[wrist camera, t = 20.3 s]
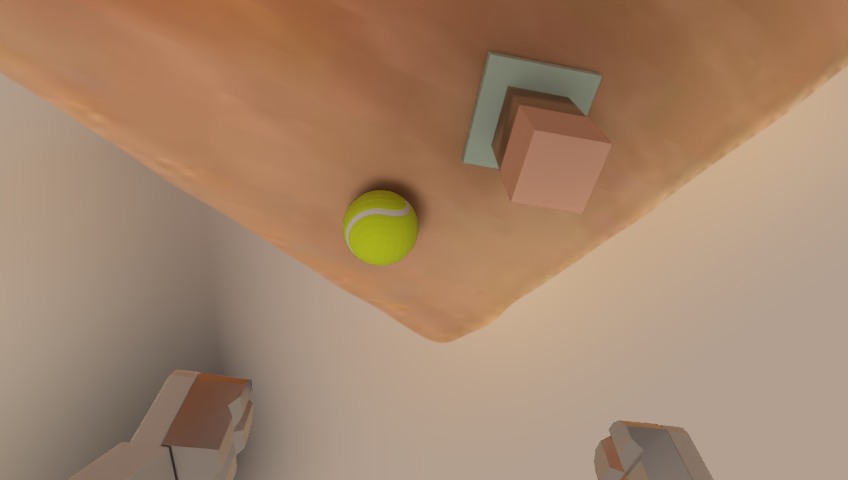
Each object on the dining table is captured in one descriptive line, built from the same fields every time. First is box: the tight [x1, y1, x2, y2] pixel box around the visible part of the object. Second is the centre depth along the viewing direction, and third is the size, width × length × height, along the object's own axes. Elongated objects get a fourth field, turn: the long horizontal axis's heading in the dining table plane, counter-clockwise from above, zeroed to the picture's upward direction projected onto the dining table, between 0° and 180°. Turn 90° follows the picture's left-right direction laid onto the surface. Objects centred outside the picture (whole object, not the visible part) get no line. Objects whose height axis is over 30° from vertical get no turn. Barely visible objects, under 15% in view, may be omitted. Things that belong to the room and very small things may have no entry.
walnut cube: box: [491, 86, 586, 170], centre depth 35 cm, size 5×5×5 cm
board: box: [462, 51, 602, 169], centre depth 37 cm, size 9×9×1 cm
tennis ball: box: [343, 190, 418, 265], centre depth 40 cm, size 7×7×7 cm
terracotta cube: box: [500, 105, 613, 214], centre depth 31 cm, size 5×5×5 cm
